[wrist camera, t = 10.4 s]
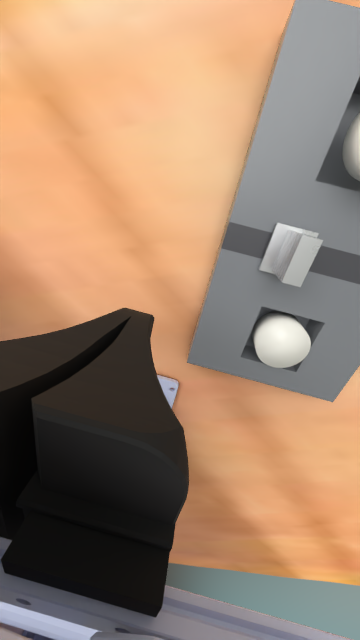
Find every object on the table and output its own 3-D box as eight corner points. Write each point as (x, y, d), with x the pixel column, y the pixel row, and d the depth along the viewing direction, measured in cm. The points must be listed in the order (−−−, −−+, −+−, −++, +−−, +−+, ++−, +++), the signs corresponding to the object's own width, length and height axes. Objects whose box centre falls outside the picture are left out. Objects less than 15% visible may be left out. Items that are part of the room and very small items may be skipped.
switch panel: (320, 381, 21) (332, 402, 19) (189, 345, 21) (186, 362, 19) (514, 86, 12) (582, 60, 10) (283, 30, 12) (297, -7, 10)
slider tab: (295, 278, 15) (311, 294, 12) (258, 268, 15) (266, 282, 12) (316, 232, 14) (340, 239, 11) (276, 222, 14) (290, 226, 11)
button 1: (289, 357, 19) (296, 373, 17) (245, 345, 19) (248, 360, 17) (310, 318, 18) (320, 331, 16) (262, 306, 18) (267, 317, 16)
